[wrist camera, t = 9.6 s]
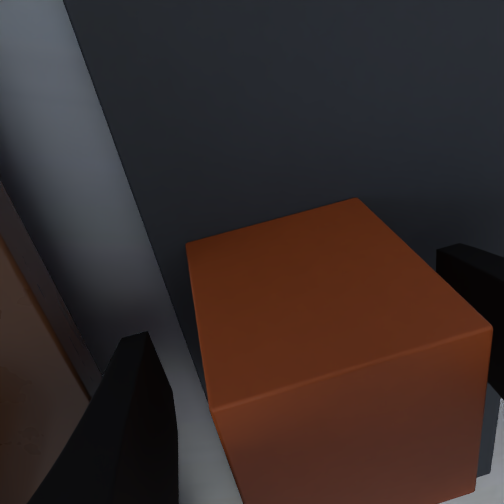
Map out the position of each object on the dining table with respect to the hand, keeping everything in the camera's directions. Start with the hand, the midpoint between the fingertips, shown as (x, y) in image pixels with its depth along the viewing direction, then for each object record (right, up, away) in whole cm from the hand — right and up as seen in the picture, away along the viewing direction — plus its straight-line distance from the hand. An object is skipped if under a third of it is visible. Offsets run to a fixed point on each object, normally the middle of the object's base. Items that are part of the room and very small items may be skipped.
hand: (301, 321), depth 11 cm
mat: (+2, 0, +3) cm, 3 cm away
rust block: (0, +1, +1) cm, 1 cm away
